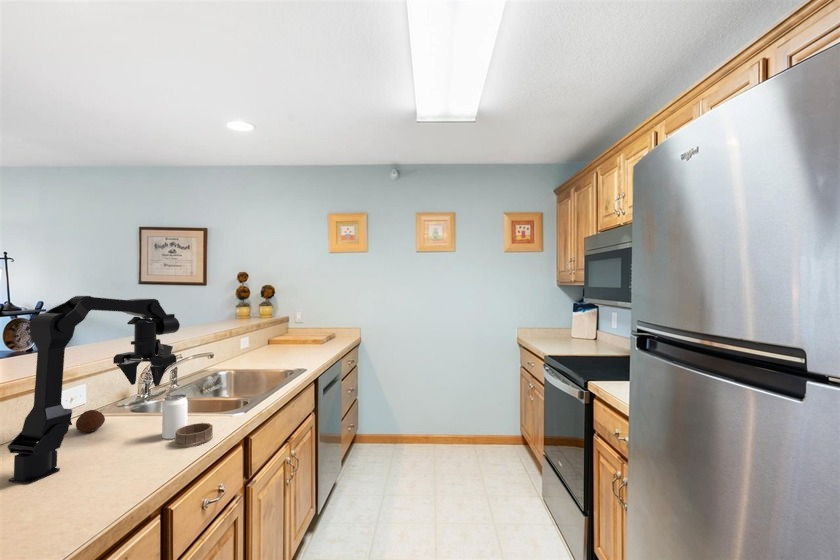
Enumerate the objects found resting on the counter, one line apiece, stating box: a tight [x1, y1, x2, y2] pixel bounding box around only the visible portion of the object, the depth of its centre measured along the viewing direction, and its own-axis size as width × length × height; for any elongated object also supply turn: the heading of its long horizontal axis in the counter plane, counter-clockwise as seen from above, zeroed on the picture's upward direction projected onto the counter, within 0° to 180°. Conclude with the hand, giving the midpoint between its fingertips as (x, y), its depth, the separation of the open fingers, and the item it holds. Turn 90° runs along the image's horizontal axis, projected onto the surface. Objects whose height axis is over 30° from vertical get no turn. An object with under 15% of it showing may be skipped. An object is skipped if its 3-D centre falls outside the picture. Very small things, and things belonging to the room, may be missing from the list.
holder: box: [174, 422, 214, 449], centre depth 108 cm, size 10×10×4 cm
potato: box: [75, 409, 106, 434], centre depth 115 cm, size 7×9×6 cm
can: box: [161, 393, 188, 440], centre depth 112 cm, size 6×6×12 cm
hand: (144, 385), depth 115 cm, fingers open, 9 cm apart
